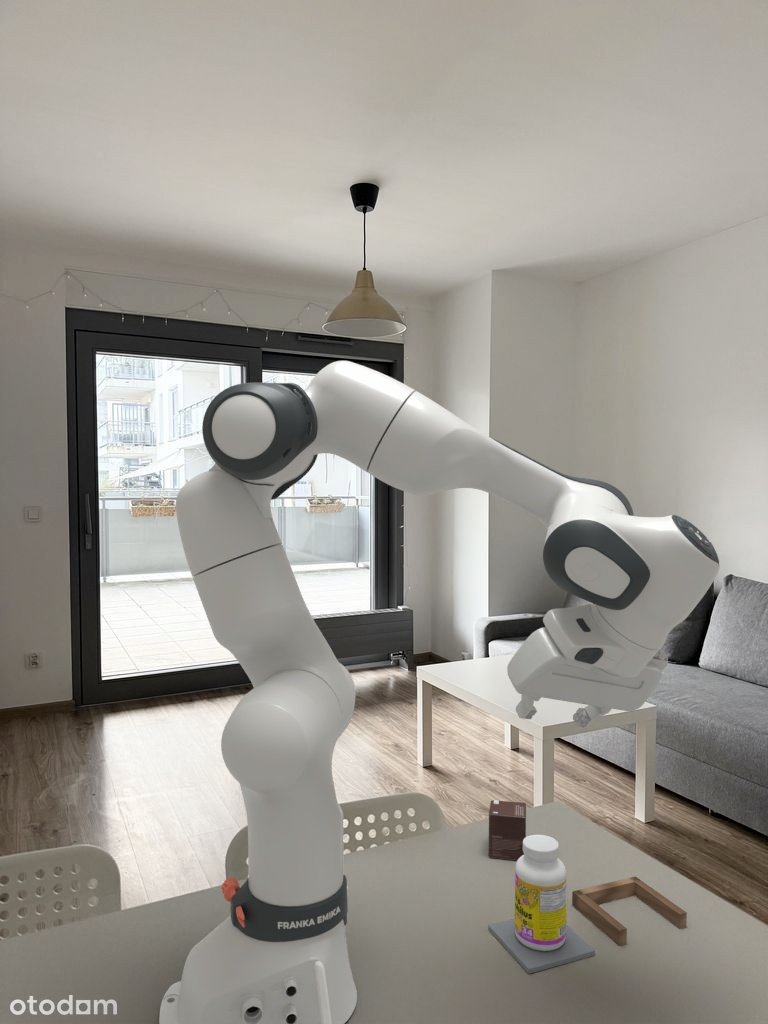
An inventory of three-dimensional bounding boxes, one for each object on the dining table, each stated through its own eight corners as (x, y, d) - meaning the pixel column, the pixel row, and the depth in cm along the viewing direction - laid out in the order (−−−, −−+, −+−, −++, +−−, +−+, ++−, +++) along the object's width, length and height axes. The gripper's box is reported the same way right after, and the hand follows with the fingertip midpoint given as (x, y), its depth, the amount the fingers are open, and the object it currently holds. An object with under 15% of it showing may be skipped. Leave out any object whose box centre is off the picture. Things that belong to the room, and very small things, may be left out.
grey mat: (528, 973, 90) (528, 969, 90) (488, 929, 99) (488, 924, 99) (595, 955, 94) (595, 950, 94) (549, 913, 103) (550, 909, 103)
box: (525, 862, 118) (525, 817, 118) (488, 858, 119) (488, 814, 119) (526, 845, 124) (526, 802, 124) (490, 841, 125) (490, 799, 125)
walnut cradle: (619, 945, 96) (619, 930, 96) (572, 905, 105) (572, 891, 105) (686, 926, 100) (686, 912, 100) (635, 889, 110) (635, 876, 110)
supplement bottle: (507, 926, 99) (507, 832, 99) (553, 920, 100) (553, 828, 100) (526, 956, 93) (526, 856, 92) (574, 950, 94) (575, 852, 94)
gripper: (660, 635, 93) (599, 709, 99) (537, 607, 83) (477, 689, 89) (689, 672, 88) (622, 747, 94) (562, 646, 78) (497, 731, 84)
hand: (551, 719), depth 91 cm, fingers open, 8 cm apart
